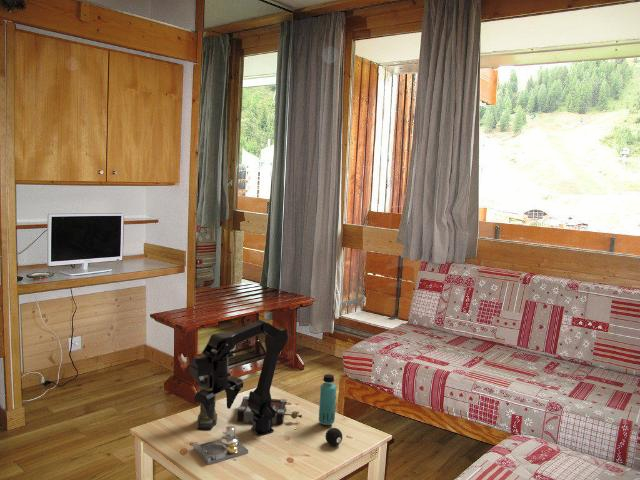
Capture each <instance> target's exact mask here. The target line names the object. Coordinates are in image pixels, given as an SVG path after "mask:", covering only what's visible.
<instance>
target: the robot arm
mask: <svg viewBox="0 0 640 480" xmlns="http://www.w3.org/2000/svg"><path fill="white" fill-rule="evenodd" d="M261 334H262V335H264V336H265V337H264V345H265V349H266V351H265V354H264V359H263V362H262V365H261V370H260V374H259V378H258V382H257V385H256V388H255V389H254V390H253V391H252V390H250V391H249V395H248V397H249V398H248V400H247V402H248V406H249V408H250V409H251V412H252V413H254V414H255V415H254V419H253V422H252V424H251V425H252V426H251V430H252V432H254V433H255V434H257V435H258V436H263V435H267V434H270V433H274V432H275V429H273V424H272V418H274V417H275V415H276V411H275V410H274V409H273V408H272V407H271V400H272V399H273V398H272V394H271V387H272V383H273V379H274V375H275V373H276V372H275V371H276V368H277V367H276V366H277V364H278V363H277V362H278V360H279V355H280V353H281V352H282V351H283V349H285V347H286V344H287V342H288V339H289V334H288V332H287V331H286V330H284V329H281V328H280V327H276V326H273V325H272V324H270V323H269V321H266V320H264V319H257V320H256V321H254V322H252V323H249V324H247V325H245V326H242V327H239V328H238V329H235V330H232V331H222V332H221V331H220V332H217V333H214V334H212V335H210V338H209V339H208V342H207V343H206V345H205V346H204V349H203V350H202V353H201V354H202V355H200V356H193V357H192V360H191V361H190V363H189V366H188V367H189V368H188V369H189V373H190V375H191V377H192V378H193V379H195V385H196V386H197V387H199V388H200V387H203V386H207V388H209V389H210V388H211V389H212V390H211V391H207V390H204V389H203V390H201V391H200V390H199V391H196V393H194V395H193V396H194V401H195V402H197V403H199V404H200V403H202V404H203V406H204V408H205V410H206V412H207V415H208V417H209V418H210V419H211V418H212V415H213V410H214V406H215V407H216V402H214V399H215V395H216V396H217V395H219V394H220V393H222V392H225V393H226V394H225V395H226V408H227V409H228V410H230V409H231V408H232V406H233V404H234V402H235V400H236V397H237V396H238V395H239V393H240V391H241V390H242V389H243V388H244V382H243V380H242V379H241V378H238V377H235V376H231V375H232V374H231V372H229V358H232V357H234V356H235V355H234V353H232V352H231V351H232V350H233V349H235V347H236V346H237V345H238V344H240V343H243V342H245V341H246V340H250V339H252V338H254V337H256V336H258V335H259V336H260V335H261ZM211 350H214V351H216V352H217V353H214V352H212V351H211Z"/></svg>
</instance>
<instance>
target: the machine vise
mask: <svg viewBox="0 0 640 480" xmlns="http://www.w3.org/2000/svg"><path fill="white" fill-rule="evenodd" d="M248 398H249V395H248V396H245V395H244V396H242V400H241V402H240V405H239V406H238V408H237V415H236V416H237V417H236V418H237V419H236V421H237V422H243V423H252V424H253V419H254V415H255V414H254V413H252V412H251V409H250V408H249V406H248V402H247V400H248ZM271 399H272V400H271V407H272V408H273V409H274V410H275V411H276V415H275V417H274V418H272V425H283V424H284V421H285V416H290V417H291V418H292V419H293V420H294V419H297V418H300V419H302V416H303V415H302V414H299V413H300V411H296V410H293V411H292V413H286V412H287V409H288V408H287V406H286V405H287V403H288V399H287V398H280V399H279V398H271Z"/></svg>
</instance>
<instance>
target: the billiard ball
mask: <svg viewBox="0 0 640 480" xmlns="http://www.w3.org/2000/svg"><path fill="white" fill-rule="evenodd" d="M325 441H326V442H327V444H329V446H333V447H334V446H339V445H340V444H341V443H342V441H343V433H342V431H341V430H340V429H339V428H337V427H330V428H329V429H328V430H327V431H326V433H325Z"/></svg>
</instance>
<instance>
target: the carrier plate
mask: <svg viewBox="0 0 640 480" xmlns="http://www.w3.org/2000/svg"><path fill="white" fill-rule="evenodd" d="M221 441H222V438H220V439H216V440H212V441H208V442H204V443H201V444H199V443H198V442H193V450H194V451H195V452H196V454H197V455H198V456H199V457H200V458H201V460H203V461H204V462H205V463H206V465H208V466H209V465H212V464H216V463H219V462H222V461H226V460H229V459H233V458H236V457H239V456H242V455H246V454H247V455H248V454H249V449H247V448H246V447H245V446H244V445H243V444H242V443H241V442H240V441H239V443H238V444H237V445H235V444H234V443H231V444H230V445H229V446H226V445H225V444H222V443H221Z"/></svg>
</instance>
